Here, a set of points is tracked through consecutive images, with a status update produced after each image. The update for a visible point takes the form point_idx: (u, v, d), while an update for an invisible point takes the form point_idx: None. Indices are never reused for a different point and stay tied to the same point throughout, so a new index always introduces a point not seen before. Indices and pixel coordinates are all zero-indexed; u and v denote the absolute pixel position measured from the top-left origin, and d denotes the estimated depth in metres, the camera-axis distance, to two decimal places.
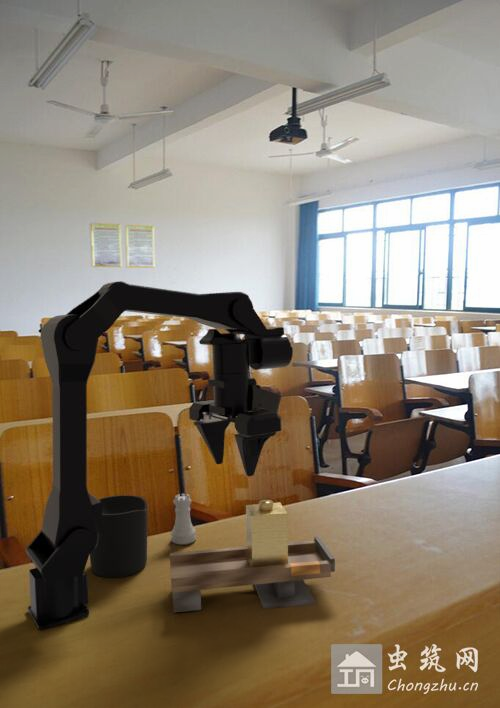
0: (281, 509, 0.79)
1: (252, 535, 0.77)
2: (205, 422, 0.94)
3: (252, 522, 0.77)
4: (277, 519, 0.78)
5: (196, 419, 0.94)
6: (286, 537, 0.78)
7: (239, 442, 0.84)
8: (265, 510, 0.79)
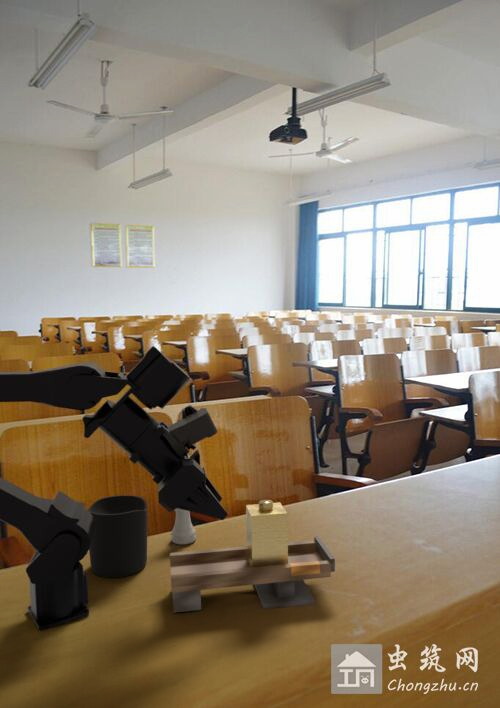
0: (281, 509, 0.79)
1: (252, 535, 0.77)
2: None
3: (252, 522, 0.77)
4: (277, 519, 0.78)
5: None
6: (286, 537, 0.78)
7: None
8: (265, 510, 0.79)
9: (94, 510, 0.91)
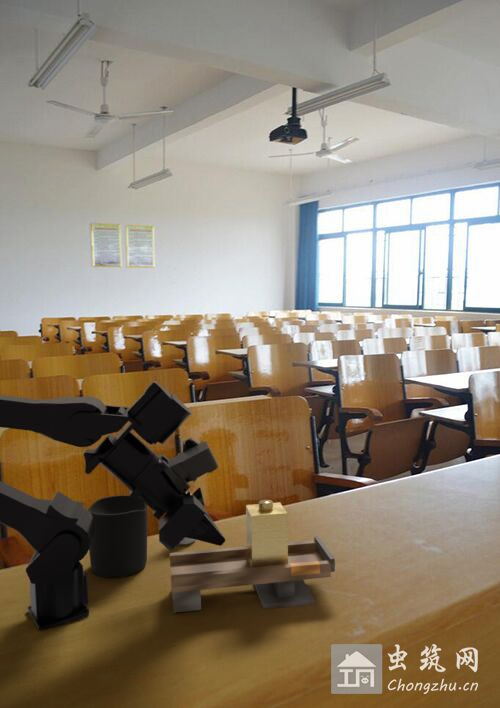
0: (281, 509, 0.79)
1: (252, 535, 0.77)
2: None
3: (252, 522, 0.77)
4: (277, 519, 0.78)
5: None
6: (286, 537, 0.78)
7: None
8: (265, 510, 0.79)
9: (94, 510, 0.91)
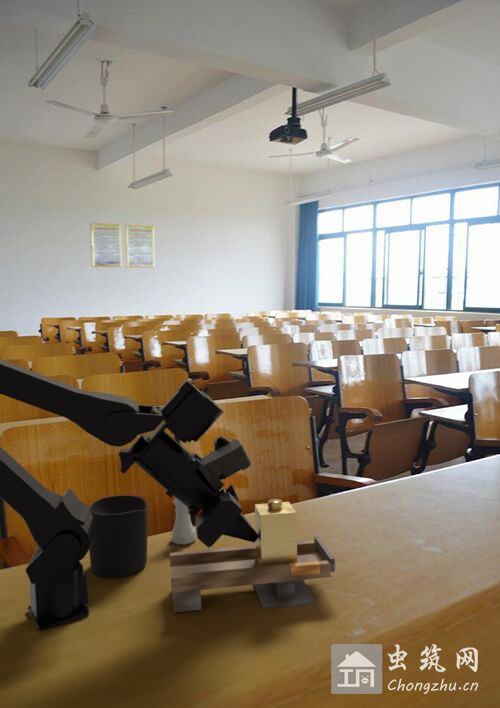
0: (290, 508, 0.80)
1: (261, 534, 0.78)
2: None
3: (261, 521, 0.77)
4: (286, 518, 0.78)
5: None
6: (295, 536, 0.78)
7: None
8: (274, 509, 0.79)
9: (94, 510, 0.91)
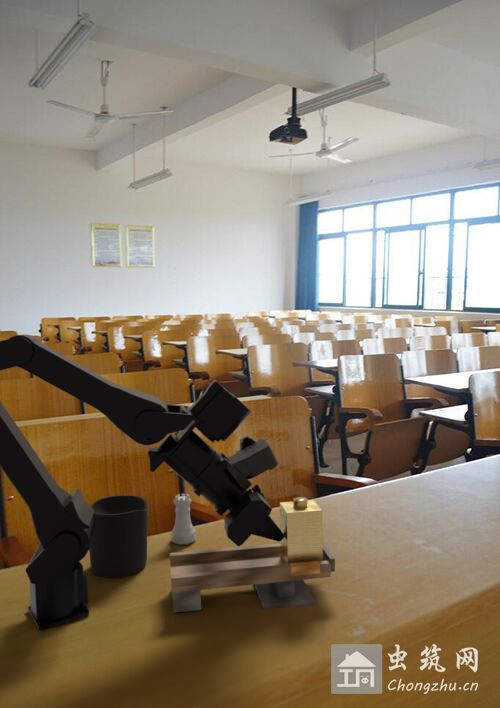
0: (316, 506, 0.80)
1: (288, 532, 0.78)
2: None
3: (288, 519, 0.78)
4: (312, 516, 0.78)
5: None
6: (321, 534, 0.79)
7: None
8: (300, 507, 0.79)
9: None
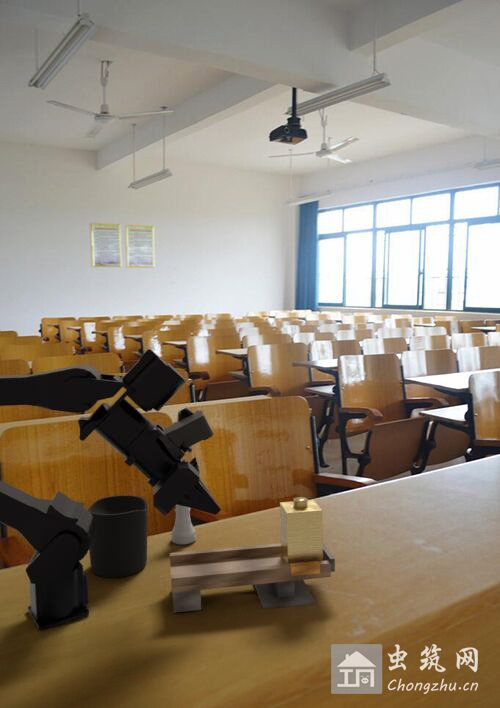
0: (316, 506, 0.80)
1: (288, 532, 0.78)
2: None
3: (288, 519, 0.78)
4: (313, 516, 0.78)
5: None
6: (321, 534, 0.79)
7: None
8: (300, 507, 0.79)
9: (94, 510, 0.91)
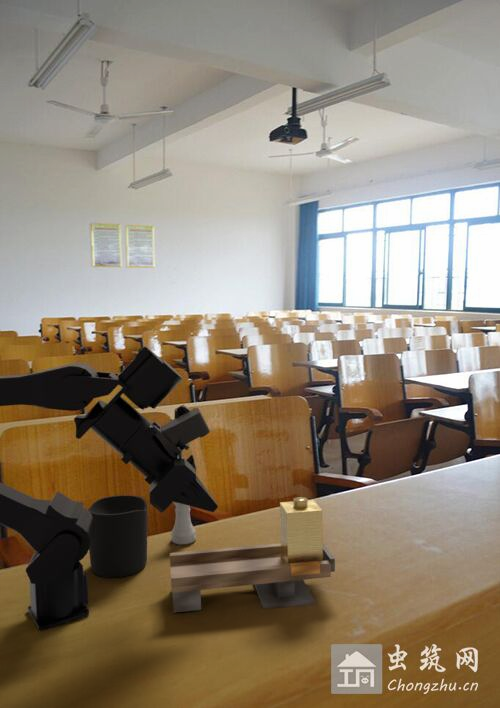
0: (316, 506, 0.80)
1: (288, 532, 0.78)
2: None
3: (288, 519, 0.78)
4: (313, 516, 0.78)
5: None
6: (321, 534, 0.79)
7: None
8: (300, 507, 0.79)
9: (94, 510, 0.91)
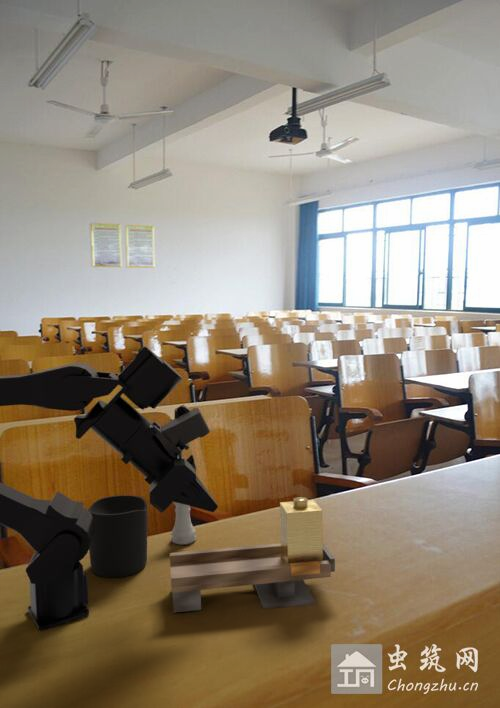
0: (316, 506, 0.80)
1: (288, 532, 0.78)
2: None
3: (288, 519, 0.78)
4: (313, 516, 0.78)
5: None
6: (321, 534, 0.79)
7: None
8: (300, 507, 0.79)
9: (94, 510, 0.91)
